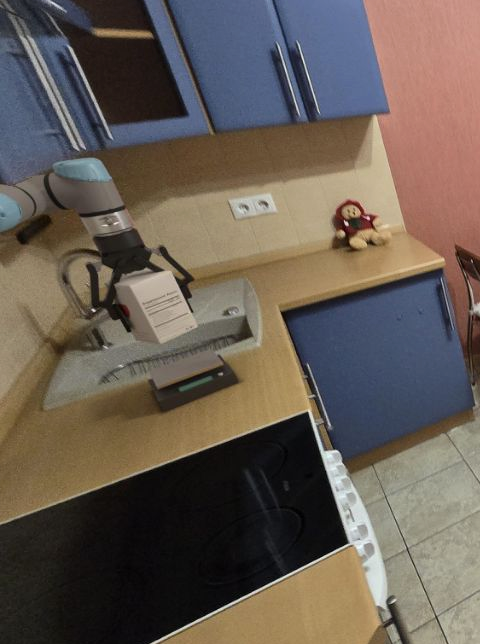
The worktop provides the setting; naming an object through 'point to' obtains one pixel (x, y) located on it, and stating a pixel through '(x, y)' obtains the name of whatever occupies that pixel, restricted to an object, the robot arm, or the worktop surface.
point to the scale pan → (185, 368)
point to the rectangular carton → (153, 306)
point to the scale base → (194, 386)
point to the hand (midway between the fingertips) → (160, 321)
